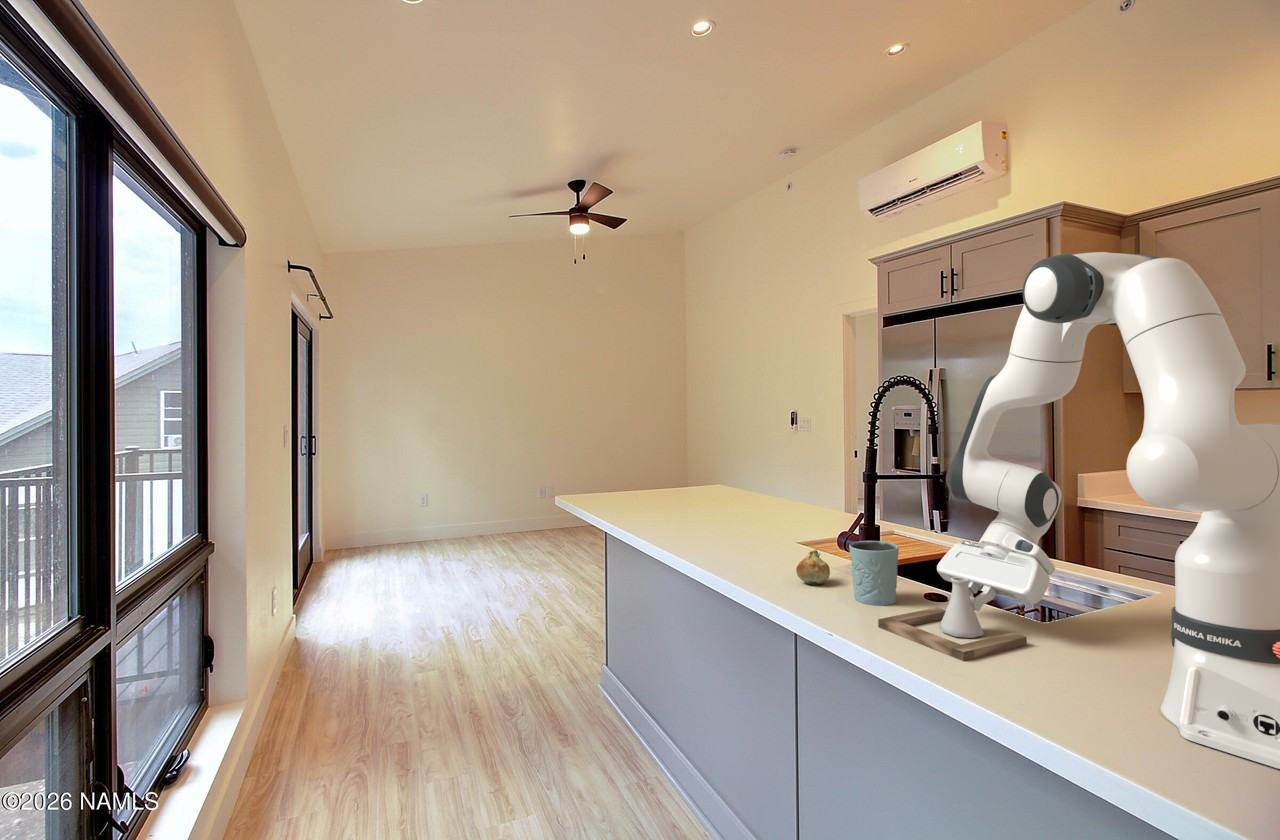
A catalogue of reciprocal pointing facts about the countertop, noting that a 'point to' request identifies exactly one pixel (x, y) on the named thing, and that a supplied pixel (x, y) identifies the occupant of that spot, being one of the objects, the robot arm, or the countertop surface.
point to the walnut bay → (963, 652)
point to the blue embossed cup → (874, 572)
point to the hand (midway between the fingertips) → (969, 607)
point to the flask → (960, 612)
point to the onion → (813, 569)
